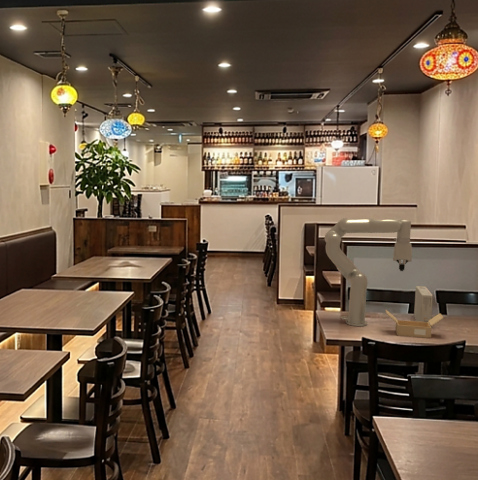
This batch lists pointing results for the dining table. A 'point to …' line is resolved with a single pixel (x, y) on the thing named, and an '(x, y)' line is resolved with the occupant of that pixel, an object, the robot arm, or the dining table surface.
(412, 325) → the carton
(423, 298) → the packaging
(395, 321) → the flap
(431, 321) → the flap
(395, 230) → the robot arm
